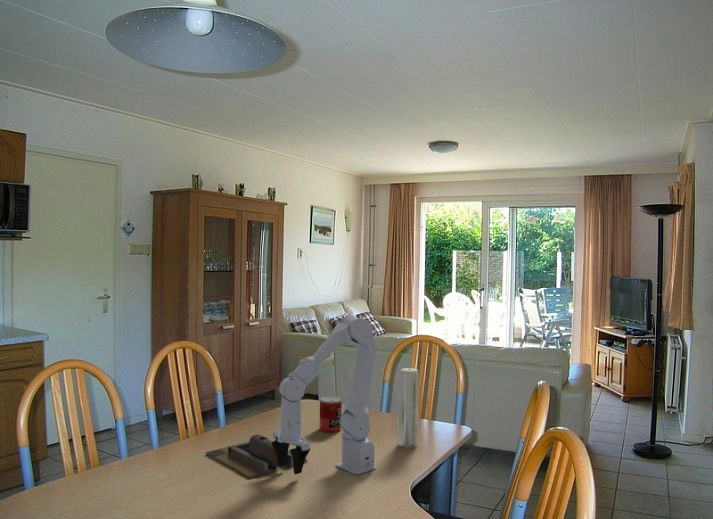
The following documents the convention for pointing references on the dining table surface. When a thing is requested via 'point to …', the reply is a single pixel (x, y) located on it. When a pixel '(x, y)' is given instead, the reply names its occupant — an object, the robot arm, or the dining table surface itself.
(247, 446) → the brown tray
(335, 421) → the canned food
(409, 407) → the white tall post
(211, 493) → the dining table surface
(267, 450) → the perforated stone tool
